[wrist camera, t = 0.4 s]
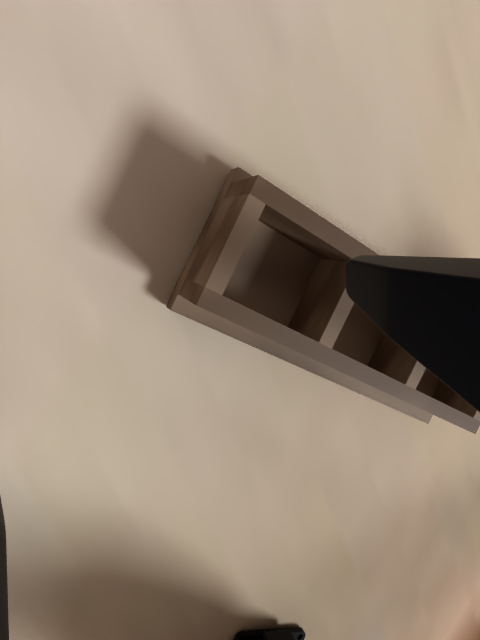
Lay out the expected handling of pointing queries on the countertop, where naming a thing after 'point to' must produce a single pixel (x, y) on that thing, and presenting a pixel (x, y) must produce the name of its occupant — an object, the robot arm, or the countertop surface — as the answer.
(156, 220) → the countertop surface
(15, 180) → the countertop surface
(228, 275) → the compartment tray
